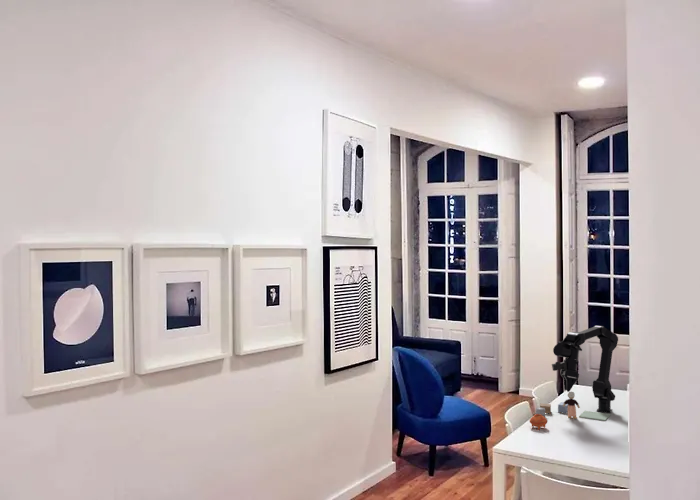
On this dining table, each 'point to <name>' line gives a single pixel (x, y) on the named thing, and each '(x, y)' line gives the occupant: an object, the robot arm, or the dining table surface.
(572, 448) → the dining table surface
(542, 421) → the pot
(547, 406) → the walnut block
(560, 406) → the slate-blue block
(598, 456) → the dining table surface
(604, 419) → the sage mat
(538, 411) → the grey capsule
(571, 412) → the grandmother figurine
